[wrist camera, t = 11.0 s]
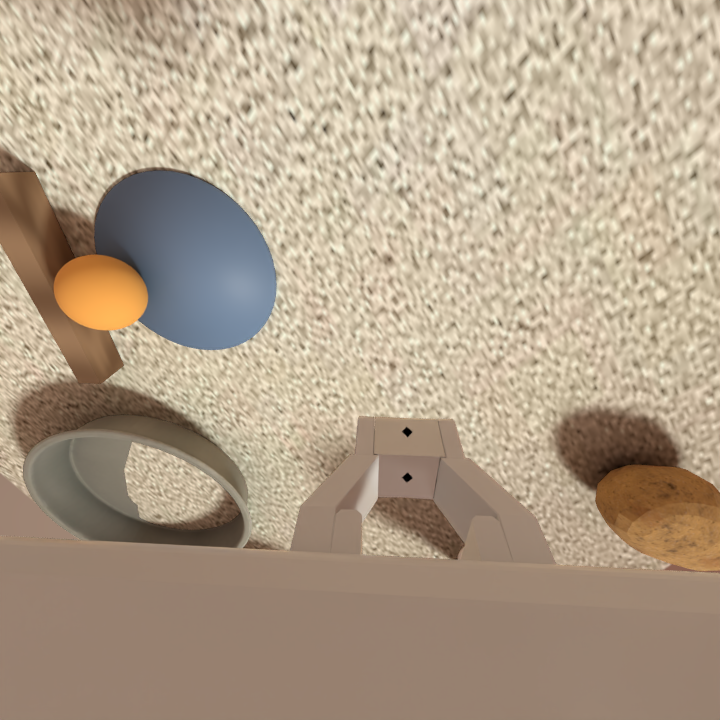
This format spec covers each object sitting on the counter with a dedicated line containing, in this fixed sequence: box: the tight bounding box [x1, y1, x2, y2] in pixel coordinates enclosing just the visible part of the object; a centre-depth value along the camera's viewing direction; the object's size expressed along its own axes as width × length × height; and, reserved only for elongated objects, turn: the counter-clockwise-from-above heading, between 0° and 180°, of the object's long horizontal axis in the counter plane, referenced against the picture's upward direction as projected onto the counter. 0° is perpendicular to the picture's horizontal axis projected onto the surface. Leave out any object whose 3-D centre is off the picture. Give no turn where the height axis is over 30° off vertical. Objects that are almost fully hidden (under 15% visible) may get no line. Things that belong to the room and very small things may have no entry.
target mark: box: [94, 170, 276, 350], centre depth 26 cm, size 14×14×1 cm
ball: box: [54, 255, 148, 330], centre depth 24 cm, size 6×6×6 cm
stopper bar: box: [0, 172, 124, 384], centre depth 26 cm, size 16×2×3 cm, turn 1°
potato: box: [595, 465, 720, 571], centre depth 32 cm, size 10×14×8 cm
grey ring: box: [23, 415, 252, 548], centre depth 39 cm, size 25×25×4 cm
